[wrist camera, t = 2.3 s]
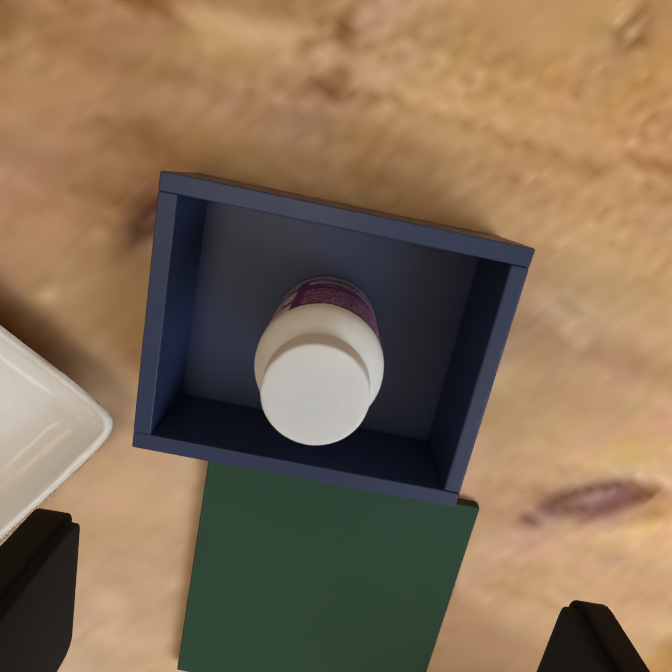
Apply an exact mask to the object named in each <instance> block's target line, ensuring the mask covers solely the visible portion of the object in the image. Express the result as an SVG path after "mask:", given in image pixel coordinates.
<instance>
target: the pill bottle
mask: <svg viewBox="0 0 672 672" xmlns="http://www.w3.org/2000/svg"><path fill="white" fill-rule="evenodd" d="M254 369H255V378H256V382H257V385H258V388H259V390H260V399H261V405H262V408H263V411H264V413H265V415H266V417H267V419H268V420H269V422H270V423H271V424H272V426H273V427H274V428H275V429H276V430H277V431H278V432H280V433H281V434H282V435H284V436H285V437H287V438H289V439H291V440H293V441H295V442H299V443H302V444H306V445H325V444H330V443H333V442H337V441H339V440H341V439H343V438H345V437H347V436H348V435H349V434H351V433H352V432H353V431H354V430H356V428H357V427H358V426H359V425H360V424H361V422H362V421H363V419H364V417H365V415H366V413H367V411H368V408H369V406H370V405H371V403H372V402H373V401H374V399H375V397H376V396H377V394H378V391H379V389H380V386H381V383H382V379H383V372H384V358H383V351H382V347H381V343H380V338H379V333H378V328H377V323H376V318H375V314H374V311H373V308H372V305H371V303H370V302H369V300H368V299H367V297H366V296H365V295H364V294H363V292H362V291H361V290H360V289H358V288H357V287H356V286H355V285H353V284H352V283H350V282H348V281H345V280H343V279H339V278H335V277H315V278H311V279H308V280H305V281H303V282H301V283H300V284H298V285H297V286H295V287H294V288H293V289H292V290H290V291H289V292H288V294H287V295H286V296H285V297H284V299H283V300H282V302H281V303H280V305H279V307H278V308H277V310H276V312H275V314H274V315H273V317H272V319H271V321H270V323H269V324H268V326H267V327H266V330H265V331H264V333H263V335H262V337H261V339H260V342H259V344H258V347H257V350H256V354H255V362H254Z"/></svg>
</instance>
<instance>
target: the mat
mask: <svg viewBox="0 0 672 672" xmlns="http://www.w3.org/2000/svg"><path fill="white" fill-rule="evenodd" d="M478 511H479V506H478V504H477V503H476V502H471V501H466V500H461V499H457V503H456V506H455V507H451V506H445V505H440V504H435V503H430V502H424V501H419V500H414V499H408V498H403V497H398V496H392V495H387V494H382V493H376V492H371V491H366V490H360V489H355V488H350V487H345V486H339V485H334V484H329V483H323V482H318V481H313V480H307V479H302V478H297V477H291V476H286V475H281V474H275V473H270V472H265V471H260V470H254V469H249V468H244V467H238V466H233V465H228V464H222V463H217V462H212V461H209V462H208V468H207V475H206V482H205V488H204V495H203V502H202V508H201V515H200V522H199V528H198V535H197V542H196V548H195V555H194V562H193V568H192V575H191V582H190V588H189V595H188V602H187V608H186V615H185V622H184V628H183V635H182V641H181V648H180V655H179V661H178V668H177V669H178V670H183V671H189V672H426V671H427V668H428V665H429V662H430V658H431V655H432V652H433V649H434V646H435V643H436V640H437V637H438V634H439V631H440V628H441V625H442V622H443V618H444V615H445V612H446V609H447V606H448V603H449V600H450V597H451V594H452V591H453V588H454V585H455V581H456V578H457V575H458V572H459V569H460V566H461V563H462V560H463V557H464V554H465V551H466V548H467V545H468V541H469V538H470V535H471V532H472V529H473V526H474V523H475V520H476V517H477V514H478Z"/></svg>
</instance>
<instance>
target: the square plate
mask: <svg viewBox="0 0 672 672" xmlns="http://www.w3.org/2000/svg"><path fill="white" fill-rule="evenodd" d="M112 426H113V420H112V418H111V416H110V414H109V413H108V412H107V411H106V410H105V409H104V408H103V407H102V406H101V405H100V404H99V403H98V402H97V401H96V400H95V399H94V398H93V397H92V396H91V395H89V394H88V393H87V392H86V391H85V390H84V389H82V388H81V387H80V386H78V385H77V384H76V383H75V382H74V381H73V380H71V379H70V378H69V377H68V376H67V375H65V374H64V373H62V372H61V371H60V370H58V369H57V368H56V367H55V366H53V365H52V364H51V363H49V362H48V361H47V360H46V359H44V358H43V357H42V356H40V355H39V354H37V353H36V352H35V351H33V350H32V349H31V348H29V347H28V346H27V345H25V344H24V343H23V342H21V341H20V340H19V339H18V338H16V337H15V336H14V335H13V334H11V333H10V332H8V331H7V330H6V329H5V328H3V327H2V326H1V325H0V539H1V538H2V537H3V536H4V535H5V534H6V533H7V532H9V531H10V530H11V529H12V528H13V527H14V526H15V525H16V524H17V523H18V522H19V521H21V520H22V519H23V518H24V517H25V516H26V515H27V514H28V513H29V512H30V511H31V510H33V509H34V508H35V507H36V506H37V505H38V504H39V503H40V502H41V501H43V500H44V499H45V498H46V497H47V496H48V495H49V494H50V493H51V492H52V491H54V490H55V489H56V488H57V487H58V486H59V485H60V484H61V483H63V482H64V481H65V480H66V479H67V478H68V477H69V476H70V475H71V474H72V473H73V472H74V471H76V470H77V469H78V468H79V467H80V466H81V465H82V464H83V463H84V462H85V461H86V460H87V459H88V458H89V457H90V456H91V455H92V454H93V453H94V452H95V451H96V450H97V449H98V448H99V447H100V446H101V445H102V444H103V443H104V441H105V440H106V439H107V438H108V436H109V435H110V433H111V432H112Z"/></svg>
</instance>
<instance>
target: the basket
mask: <svg viewBox="0 0 672 672" xmlns="http://www.w3.org/2000/svg"><path fill="white" fill-rule="evenodd" d="M159 190H160V191H158V199H157V209H156V219H155V229H154V238H153V248H152V258H151V267H150V277H149V287H148V297H147V306H146V316H145V326H144V336H143V345H142V355H141V365H140V375H139V384H138V394H137V404H136V414H135V423H134V435H133V444H132V446H133V447H137V448H143V449H148V450H153V451H159V452H164V453H169V454H175V455H180V456H185V457H190V458H196V459H201V460H206V461H212V462H217V463H222V464H228V465H233V466H238V467H244V468H249V469H254V470H260V471H265V472H270V473H275V474H281V475H286V476H291V477H297V478H302V479H307V480H313V481H318V482H323V483H329V484H334V485H339V486H345V487H350V488H355V489H360V490H366V491H371V492H376V493H382V494H387V495H392V496H398V497H403V498H408V499H414V500H419V501H424V502H430V503H435V504H440V505H445V506H451V507H455V506H456V503H457V499H458V496H459V492H460V489H461V486H462V483H463V479H464V476H465V473H466V470H467V466H468V463H469V460H470V457H471V453H472V450H473V447H474V444H475V440H476V437H477V434H478V431H479V428H480V424H481V421H482V418H483V415H484V411H485V408H486V405H487V402H488V398H489V395H490V392H491V389H492V386H493V382H494V379H495V376H496V373H497V369H498V366H499V363H500V360H501V356H502V353H503V350H504V347H505V343H506V340H507V337H508V334H509V331H510V327H511V324H512V321H513V318H514V314H515V311H516V308H517V305H518V301H519V298H520V295H521V292H522V289H523V285H524V282H525V279H526V276H527V272H528V268H527V267H529V266H530V264H531V260H532V257H533V254H534V251H535V250H534V249H533V248H531V247H528V246H525V245H522V244H519V243H516V242H513V241H510V240H507V239H505V238H502V237H499V236H495V235H490V234H485V233H481V232H476V231H471V230H466V229H462V228H457V227H452V226H447V225H442V224H438V223H433V222H428V221H423V220H419V219H414V218H409V217H404V216H400V215H395V214H390V213H385V212H381V211H376V210H371V209H366V208H362V207H357V206H352V205H347V204H343V203H338V202H333V201H328V200H324V199H319V198H314V197H309V196H305V195H300V194H295V193H290V192H286V191H281V190H276V189H271V188H267V187H262V186H257V185H252V184H247V183H243V182H238V181H233V180H228V179H224V178H219V177H214V176H209V175H205V174H200V173H190V172H175V171H161V172H160V181H159ZM315 277H335V278H339V279H343V280H345V281H348V282H350V283H352V284H353V285H355V286H356V287H357V288H358V289H360V290H361V291H362V292H363V294H364V295H365V296H366V297H367V299H368V300H369V302H370V303H371V305H372V308H373V311H374V314H375V318H376V323H377V328H378V333H379V338H380V343H381V347H382V351H383V358H384V372H383V379H382V383H381V386H380V389H379V391H378V394H377V396H376V397H375V399H374V401H373V402H372V403H371V405H370V406H369V408H368V411H367V413H366V415H365V417H364V419H363V421H362V422H361V424H360V425H359V426H358V427H357V428H356V430H354V431H353V432H352V433H351V434H349V435H348V436H347V437H345V438H343V439H341V440H339V441H337V442H333V443H330V444H325V445H306V444H302V443H299V442H295V441H293V440H291V439H289V438H287V437H285V436H284V435H282V434H281V433H280V432H278V431H277V430H276V429H275V428H274V427H273V426H272V424H271V423H270V422H269V420H268V419H267V417H266V415H265V413H264V411H263V408H262V405H261V399H260V390H259V388H258V385H257V382H256V378H255V369H254V362H255V354H256V350H257V347H258V344H259V342H260V339H261V337H262V335H263V333H264V331H265V330H266V327H267V326H268V324H269V323H270V321H271V319H272V317H273V315H274V314H275V312H276V310H277V308H278V307H279V305H280V303H281V302H282V300H283V299H284V297H285V296H286V295H287V294H288V292H289V291H290V290H292V289H293V288H294V287H295V286H297V285H298V284H300V283H301V282H303V281H305V280H308V279H311V278H315Z"/></svg>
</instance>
